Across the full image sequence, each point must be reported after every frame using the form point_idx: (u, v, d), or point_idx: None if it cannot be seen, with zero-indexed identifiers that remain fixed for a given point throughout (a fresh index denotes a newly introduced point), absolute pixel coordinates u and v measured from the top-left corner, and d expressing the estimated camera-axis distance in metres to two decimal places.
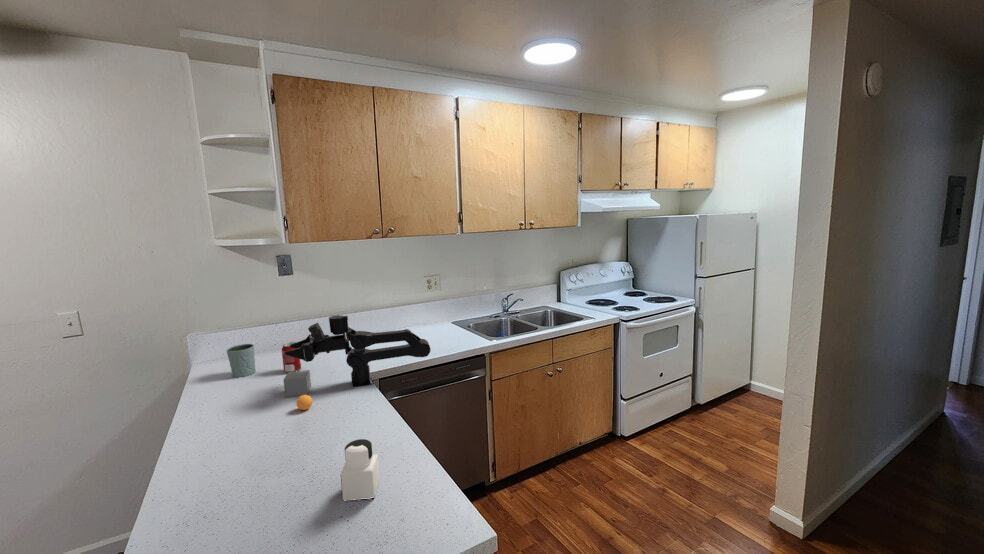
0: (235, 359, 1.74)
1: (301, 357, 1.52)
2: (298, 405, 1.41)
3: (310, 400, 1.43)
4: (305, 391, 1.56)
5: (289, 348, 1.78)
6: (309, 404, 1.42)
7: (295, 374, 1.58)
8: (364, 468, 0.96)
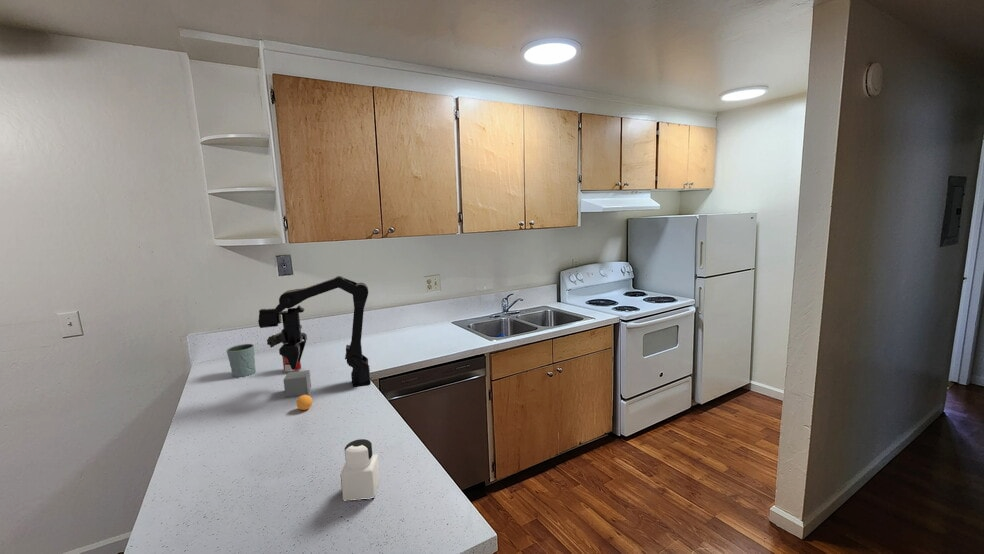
0: (235, 359, 1.74)
1: (296, 355, 1.51)
2: (298, 405, 1.41)
3: (310, 400, 1.43)
4: (305, 391, 1.56)
5: None
6: (309, 404, 1.42)
7: (295, 374, 1.58)
8: (364, 468, 0.96)
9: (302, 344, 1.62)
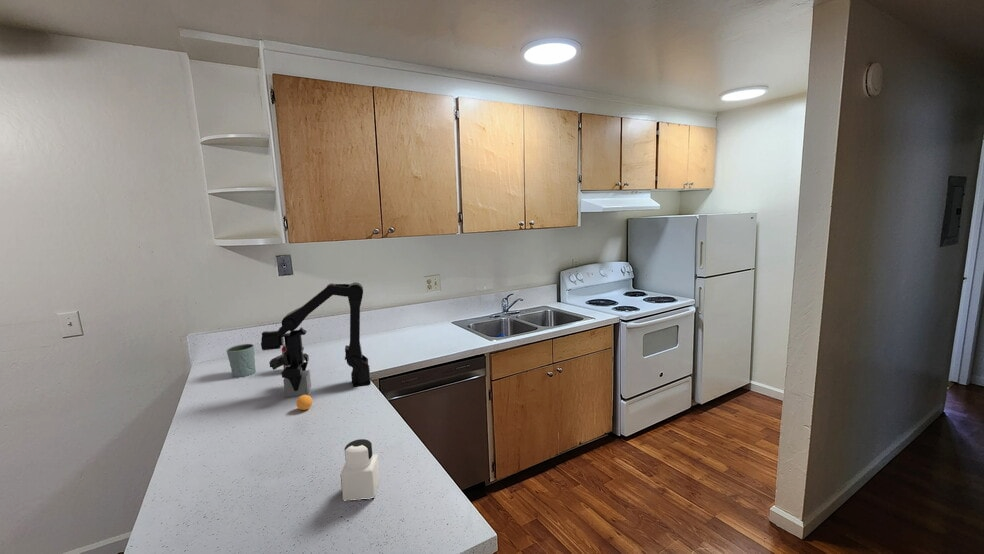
0: (235, 359, 1.74)
1: (299, 377, 1.53)
2: (298, 405, 1.41)
3: (310, 400, 1.43)
4: (305, 391, 1.56)
5: None
6: (309, 404, 1.42)
7: None
8: (364, 468, 0.96)
9: (304, 366, 1.63)
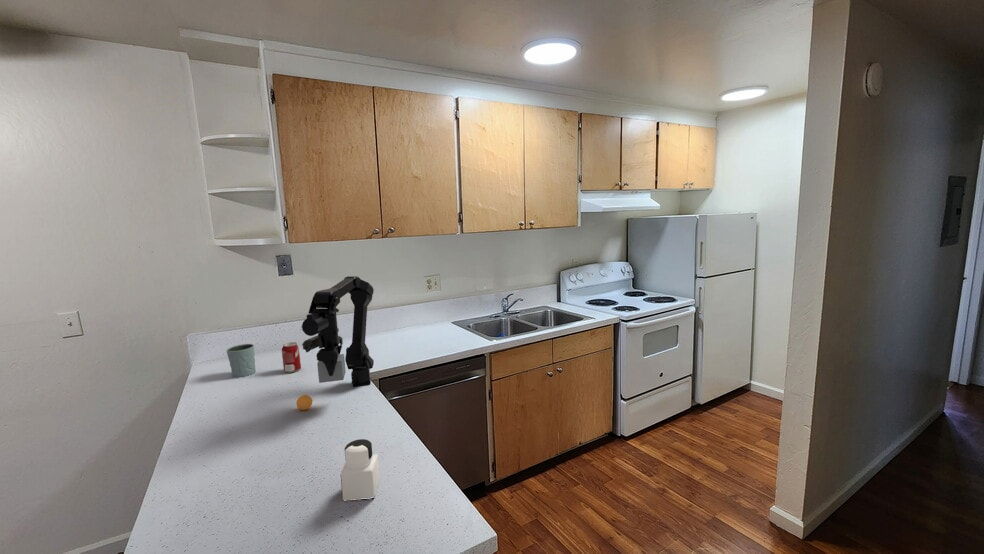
0: (235, 359, 1.74)
1: (334, 360, 1.39)
2: (298, 405, 1.41)
3: (310, 400, 1.43)
4: (340, 376, 1.42)
5: (289, 348, 1.78)
6: (309, 404, 1.42)
7: None
8: (364, 468, 0.96)
9: (338, 349, 1.49)
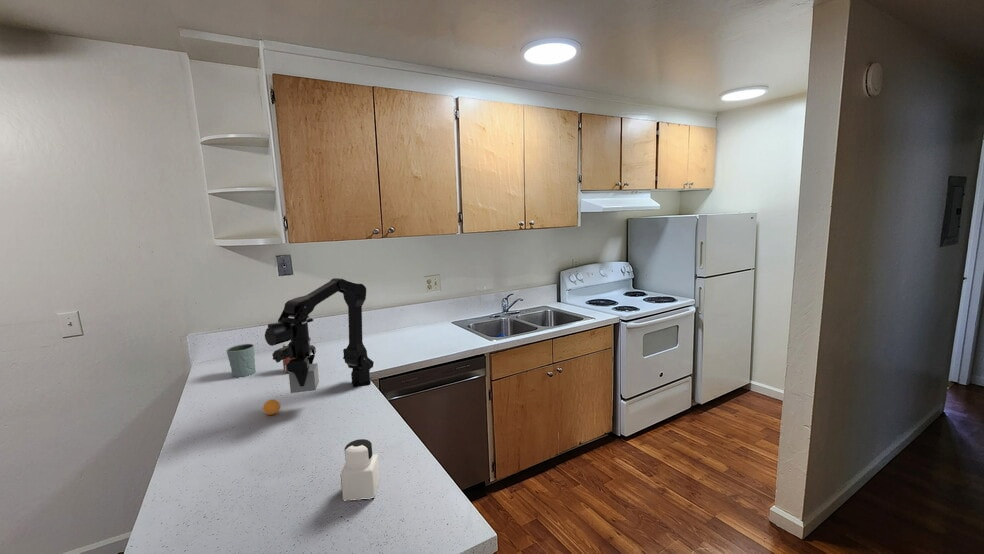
0: (235, 359, 1.74)
1: (305, 371, 1.36)
2: (273, 405, 1.39)
3: (269, 414, 1.40)
4: (312, 386, 1.40)
5: None
6: (266, 413, 1.39)
7: None
8: (364, 468, 0.96)
9: (310, 358, 1.46)
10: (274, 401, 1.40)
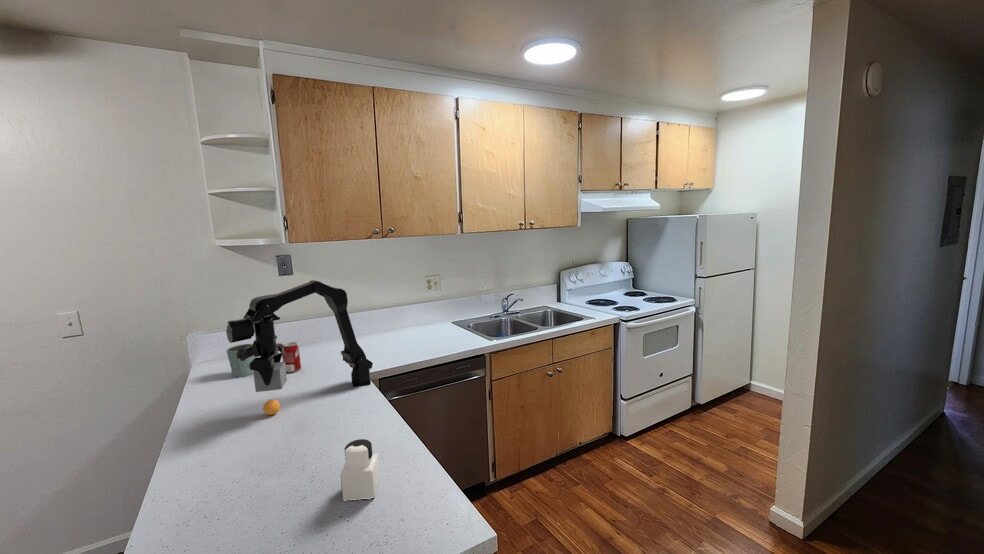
0: (235, 359, 1.74)
1: (270, 370, 1.34)
2: (273, 405, 1.39)
3: (269, 414, 1.40)
4: (278, 385, 1.37)
5: (289, 348, 1.78)
6: (266, 413, 1.39)
7: None
8: (364, 468, 0.96)
9: (278, 357, 1.44)
10: (274, 401, 1.40)
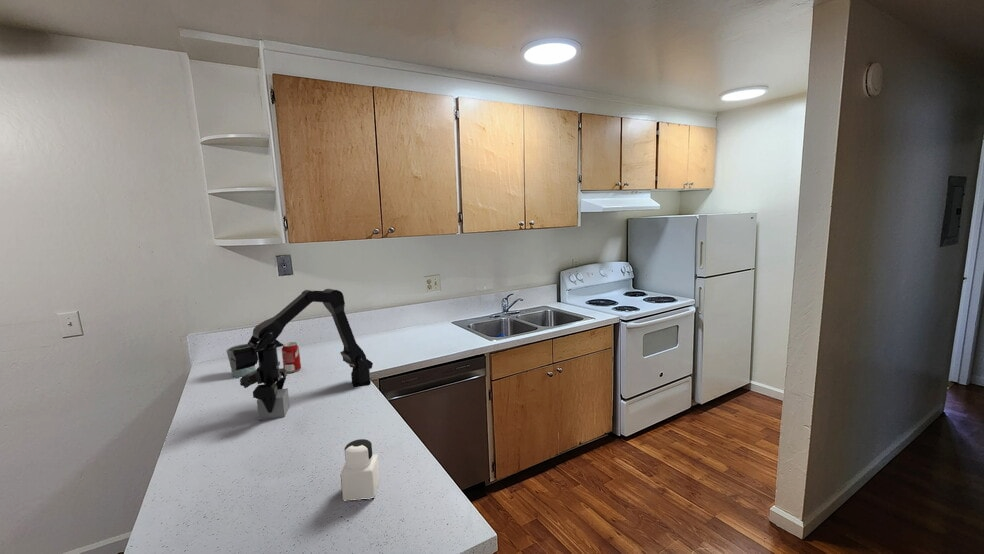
0: None
1: (273, 397, 1.35)
2: None
3: None
4: (282, 413, 1.38)
5: (289, 348, 1.78)
6: None
7: None
8: (364, 468, 0.96)
9: (281, 382, 1.46)
10: None
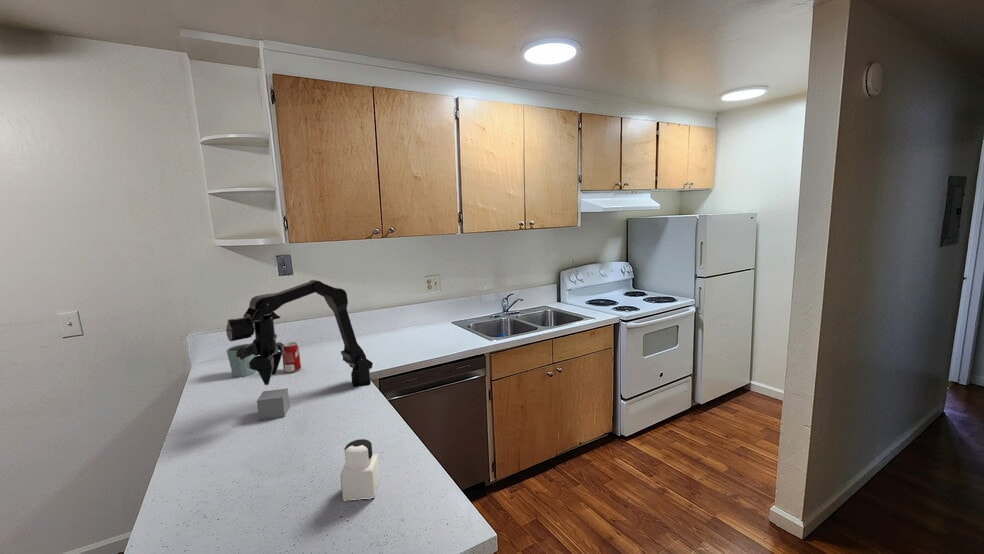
0: (235, 359, 1.74)
1: (269, 369, 1.33)
2: None
3: None
4: (282, 413, 1.38)
5: (289, 348, 1.78)
6: None
7: (271, 393, 1.41)
8: (364, 468, 0.96)
9: (278, 355, 1.44)
10: None
